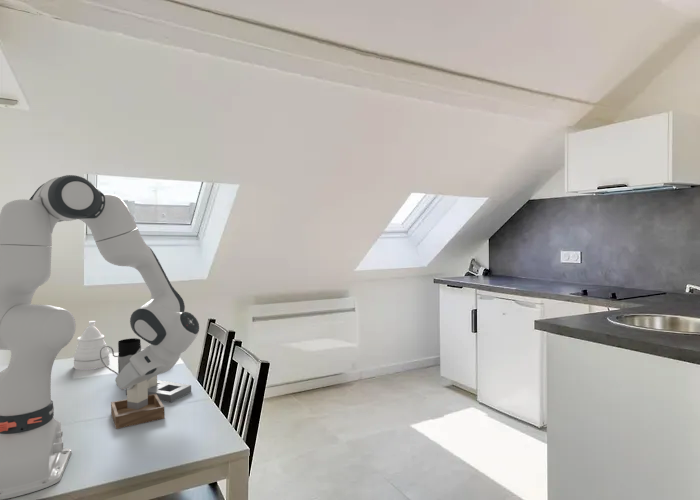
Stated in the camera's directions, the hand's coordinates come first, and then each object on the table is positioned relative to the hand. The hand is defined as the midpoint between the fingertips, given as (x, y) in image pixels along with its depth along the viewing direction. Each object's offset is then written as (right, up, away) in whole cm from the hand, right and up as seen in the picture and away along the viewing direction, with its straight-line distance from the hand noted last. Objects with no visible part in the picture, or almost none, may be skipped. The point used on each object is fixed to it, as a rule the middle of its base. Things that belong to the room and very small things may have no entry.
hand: (135, 384), depth 137 cm
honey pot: (-42, -7, +51) cm, 67 cm away
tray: (+1, -9, 0) cm, 10 cm away
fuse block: (-1, -9, +18) cm, 20 cm away
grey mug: (-20, -8, +31) cm, 38 cm away
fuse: (-5, -8, +20) cm, 22 cm away
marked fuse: (+1, -7, 0) cm, 7 cm away
